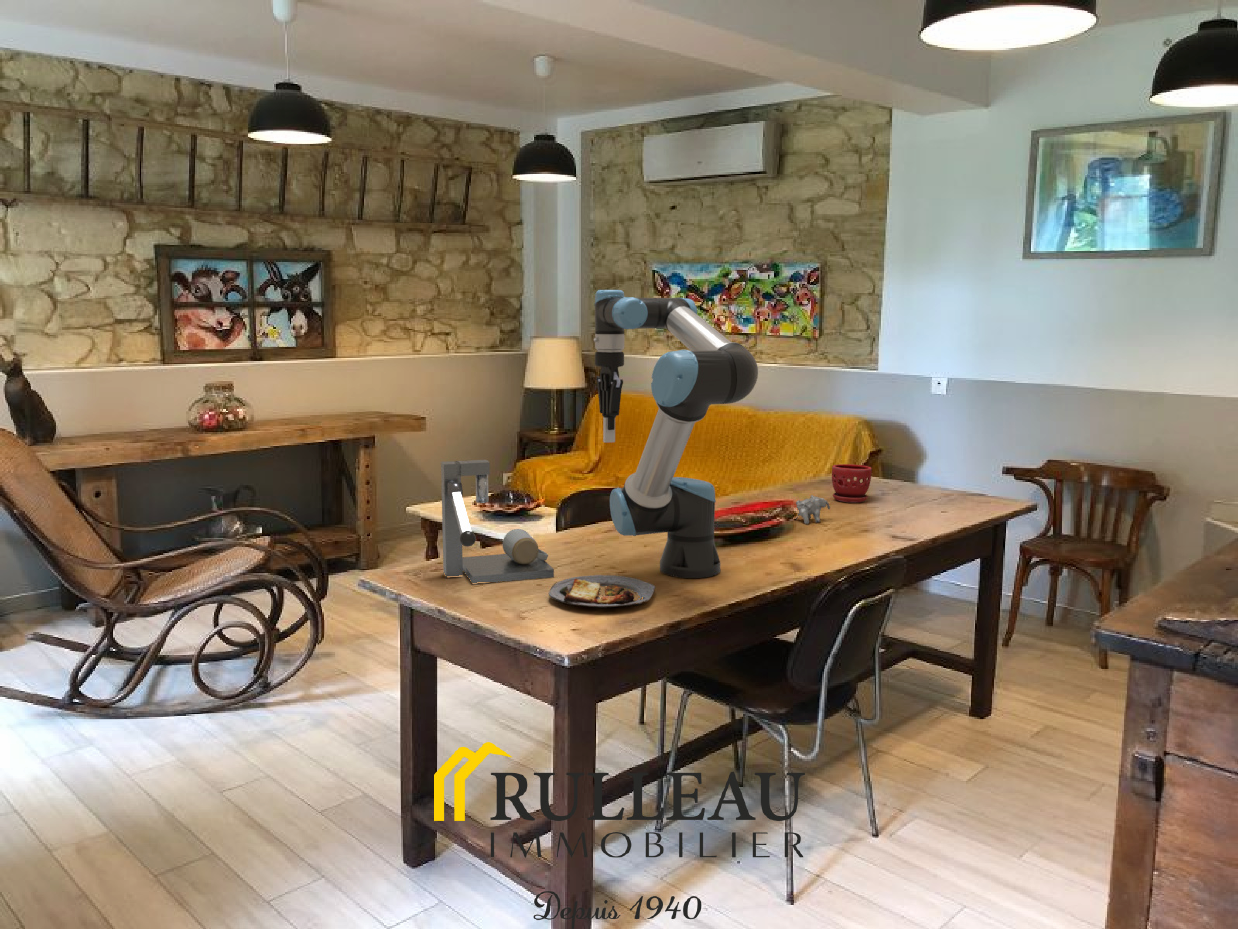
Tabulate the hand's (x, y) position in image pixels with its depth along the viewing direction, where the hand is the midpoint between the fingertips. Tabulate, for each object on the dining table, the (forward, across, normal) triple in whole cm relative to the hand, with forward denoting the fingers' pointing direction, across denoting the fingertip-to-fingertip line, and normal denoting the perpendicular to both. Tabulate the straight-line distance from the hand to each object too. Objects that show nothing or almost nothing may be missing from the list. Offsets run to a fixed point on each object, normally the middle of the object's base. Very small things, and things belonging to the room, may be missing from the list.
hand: (609, 441), depth 252 cm
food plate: (+31, +34, -15) cm, 48 cm away
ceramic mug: (+29, +5, -24) cm, 38 cm away
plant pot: (+31, -38, +104) cm, 115 cm away
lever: (+14, +16, -43) cm, 48 cm away
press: (+30, +5, -32) cm, 45 cm away
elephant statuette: (+31, -16, +74) cm, 82 cm away
